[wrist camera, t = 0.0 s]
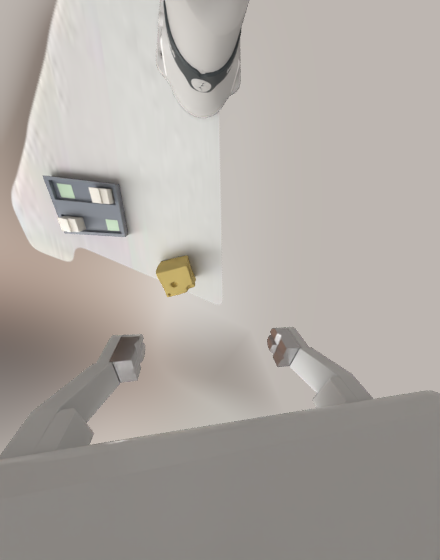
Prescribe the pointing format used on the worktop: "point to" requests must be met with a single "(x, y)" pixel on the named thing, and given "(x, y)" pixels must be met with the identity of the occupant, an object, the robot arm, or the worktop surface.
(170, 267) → the cheese
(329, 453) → the robot arm
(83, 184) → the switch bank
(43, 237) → the worktop surface
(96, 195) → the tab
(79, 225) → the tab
